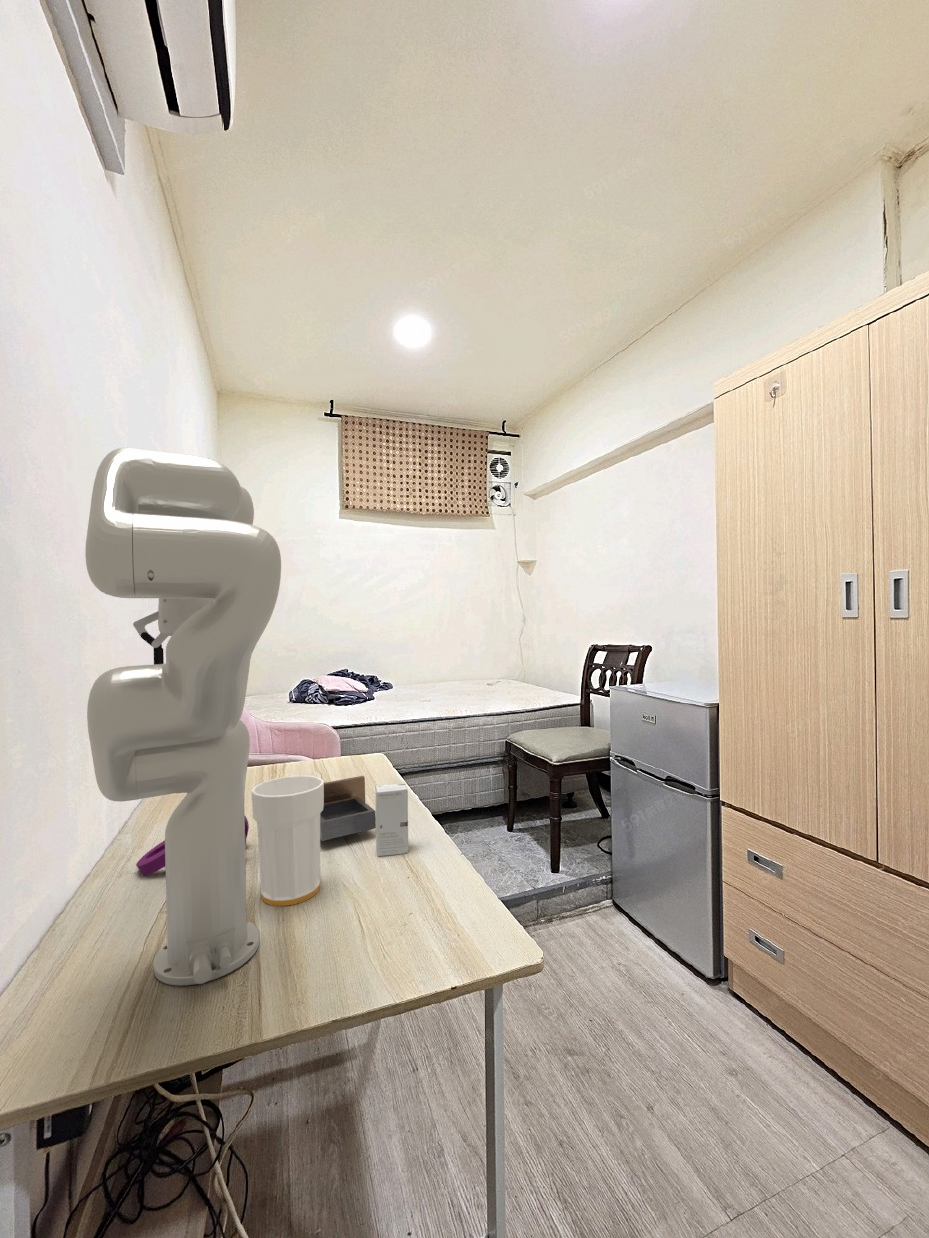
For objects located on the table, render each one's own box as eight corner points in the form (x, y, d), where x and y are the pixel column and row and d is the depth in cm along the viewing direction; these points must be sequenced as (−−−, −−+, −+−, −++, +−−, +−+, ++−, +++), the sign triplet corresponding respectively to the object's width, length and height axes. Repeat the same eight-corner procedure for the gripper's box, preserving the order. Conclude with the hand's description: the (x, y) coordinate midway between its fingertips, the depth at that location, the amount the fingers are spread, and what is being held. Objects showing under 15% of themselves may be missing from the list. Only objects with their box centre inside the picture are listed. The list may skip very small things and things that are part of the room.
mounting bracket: (154, 913, 90) (253, 852, 96) (129, 873, 89) (230, 814, 95) (166, 888, 99) (256, 833, 105) (143, 852, 98) (235, 798, 104)
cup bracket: (387, 834, 106) (386, 791, 107) (309, 854, 98) (307, 807, 98) (364, 814, 119) (362, 775, 119) (292, 830, 110) (291, 788, 111)
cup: (340, 888, 85) (337, 782, 85) (275, 918, 76) (272, 801, 77) (304, 868, 92) (302, 771, 93) (242, 893, 84) (239, 787, 84)
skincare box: (377, 857, 96) (375, 792, 96) (375, 847, 100) (373, 785, 101) (410, 853, 97) (407, 788, 98) (407, 843, 102) (405, 782, 102)
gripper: (131, 567, 82) (133, 674, 82) (247, 570, 91) (249, 666, 91) (132, 572, 89) (134, 671, 88) (241, 574, 98) (243, 665, 97)
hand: (193, 669), depth 90 cm, fingers open, 9 cm apart
